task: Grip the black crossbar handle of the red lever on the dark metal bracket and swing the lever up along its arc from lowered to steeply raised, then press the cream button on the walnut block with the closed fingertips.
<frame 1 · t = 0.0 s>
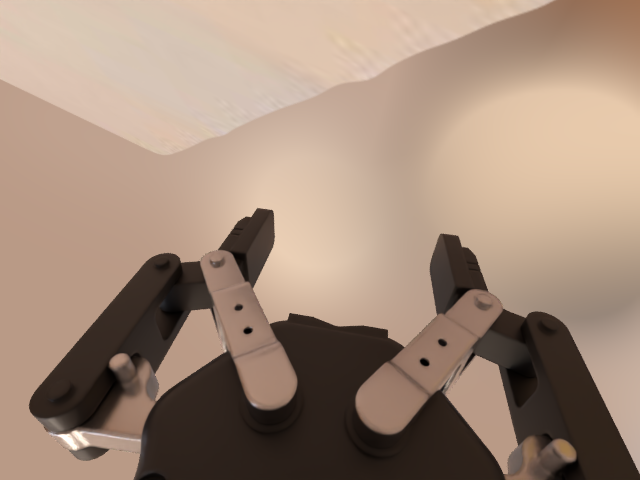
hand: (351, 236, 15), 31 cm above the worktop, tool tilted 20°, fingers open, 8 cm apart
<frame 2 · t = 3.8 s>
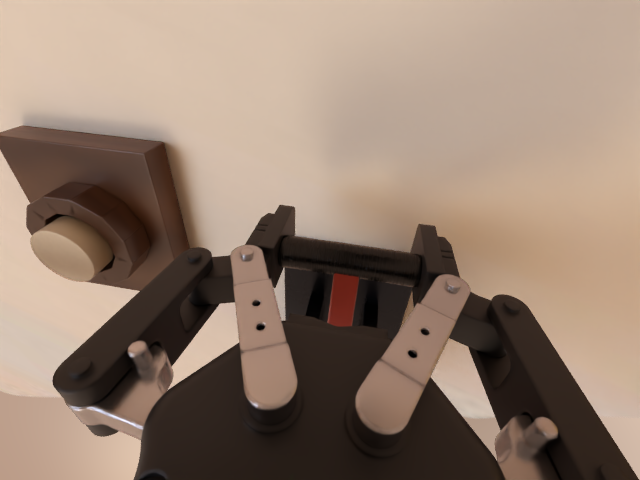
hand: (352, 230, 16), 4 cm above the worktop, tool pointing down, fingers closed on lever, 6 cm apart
lever: (331, 381, 15), point 9 cm above the worktop, hinge at -24.0°, touching gripper
button block: (120, 213, 24), on the worktop
start button: (73, 249, 20), point 4 cm above the worktop, slide at 0.1 cm
bracket: (343, 307, 26), on the worktop
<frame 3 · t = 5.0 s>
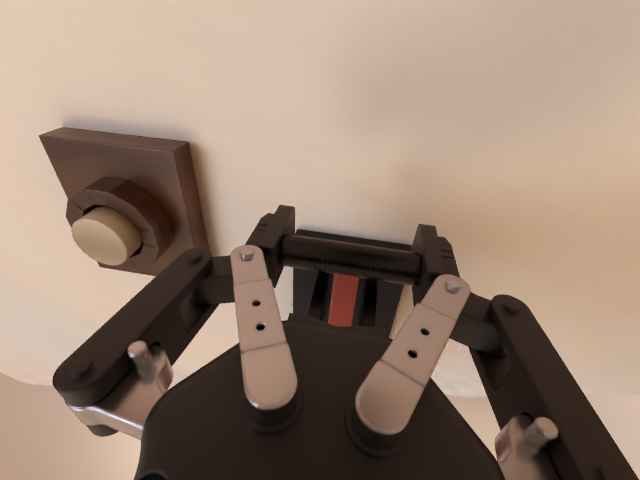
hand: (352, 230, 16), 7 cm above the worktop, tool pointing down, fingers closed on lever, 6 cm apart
lever: (334, 360, 17), point 11 cm above the worktop, hinge at -10.3°, touching gripper
button block: (145, 206, 27), on the worktop
start button: (108, 236, 23), point 4 cm above the worktop, slide at 0.1 cm
bracket: (345, 291, 28), on the worktop
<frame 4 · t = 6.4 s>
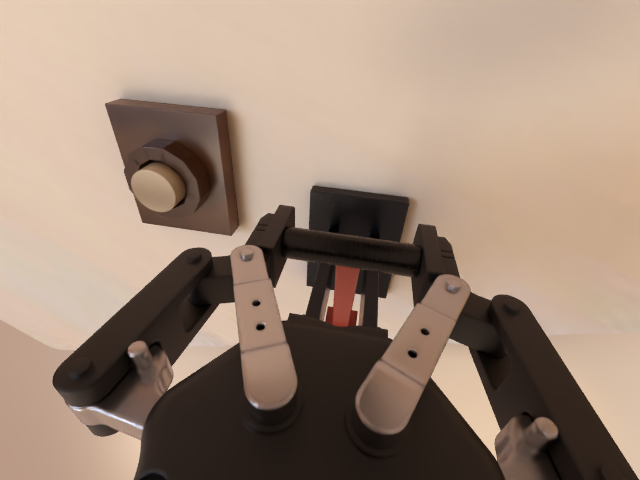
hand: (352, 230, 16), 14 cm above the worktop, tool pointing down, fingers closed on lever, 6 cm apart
lever: (343, 302, 19), point 14 cm above the worktop, hinge at 21.9°, touching gripper
button block: (185, 168, 32), on the worktop
start button: (159, 187, 28), point 4 cm above the worktop, slide at 0.1 cm
bracket: (352, 243, 33), on the worktop
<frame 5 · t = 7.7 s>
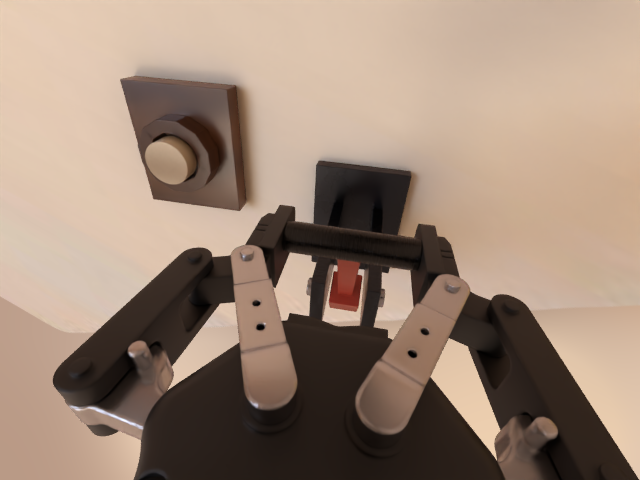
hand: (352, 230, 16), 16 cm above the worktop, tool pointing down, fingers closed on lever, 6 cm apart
lever: (347, 276, 20), point 15 cm above the worktop, hinge at 35.4°, touching gripper
button block: (195, 144, 33), on the worktop
start button: (171, 160, 29), point 4 cm above the worktop, slide at 0.1 cm
bracket: (356, 218, 34), on the worktop
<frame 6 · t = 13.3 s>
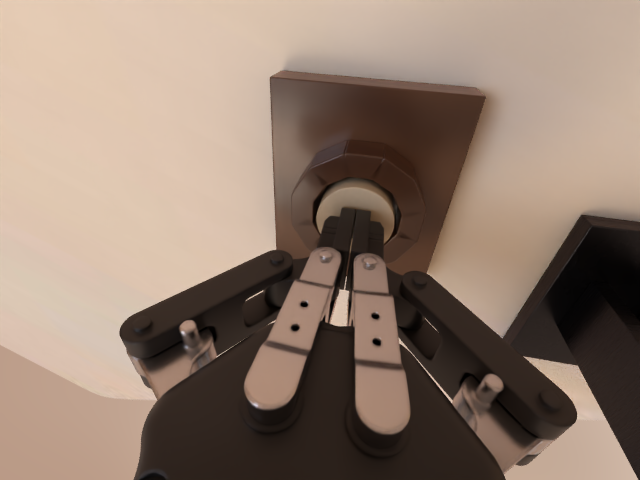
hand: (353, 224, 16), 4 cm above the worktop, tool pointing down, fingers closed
button block: (360, 184, 20), on the worktop
start button: (355, 214, 17), point 4 cm above the worktop, slide at -0.8 cm, touching gripper
bracket: (604, 298, 22), on the worktop
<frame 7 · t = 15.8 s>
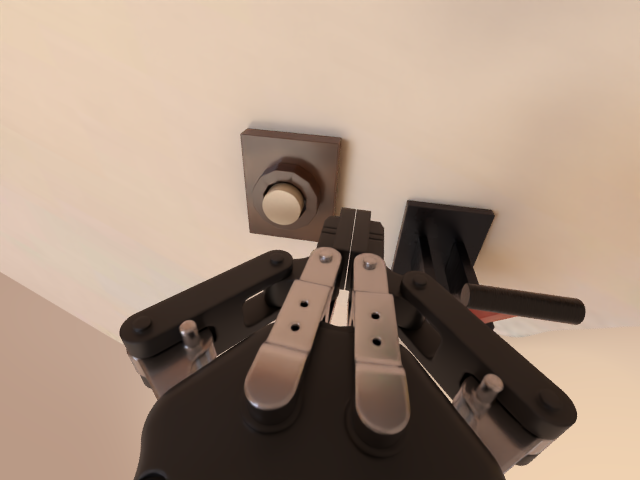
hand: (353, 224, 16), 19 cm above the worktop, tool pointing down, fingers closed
lever: (476, 316, 24), point 15 cm above the worktop, hinge at 35.2°
button block: (293, 185, 36), on the worktop
start button: (283, 204, 33), point 4 cm above the worktop, slide at 0.1 cm
bracket: (434, 248, 38), on the worktop
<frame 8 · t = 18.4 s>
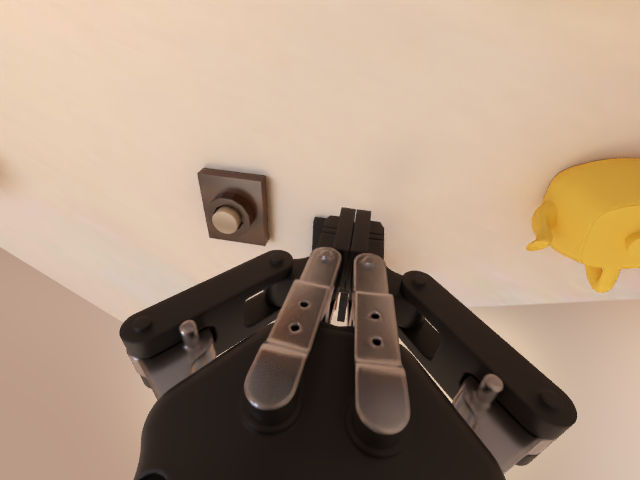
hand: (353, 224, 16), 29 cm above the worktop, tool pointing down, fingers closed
teapot: (588, 208, 43), on the worktop
lever: (328, 292, 40), point 15 cm above the worktop, hinge at 35.2°
button block: (237, 205, 52), on the worktop
start button: (227, 219, 49), point 4 cm above the worktop, slide at 0.1 cm
bracket: (339, 250, 54), on the worktop
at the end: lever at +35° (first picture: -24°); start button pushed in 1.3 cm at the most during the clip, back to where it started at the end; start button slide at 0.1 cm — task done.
